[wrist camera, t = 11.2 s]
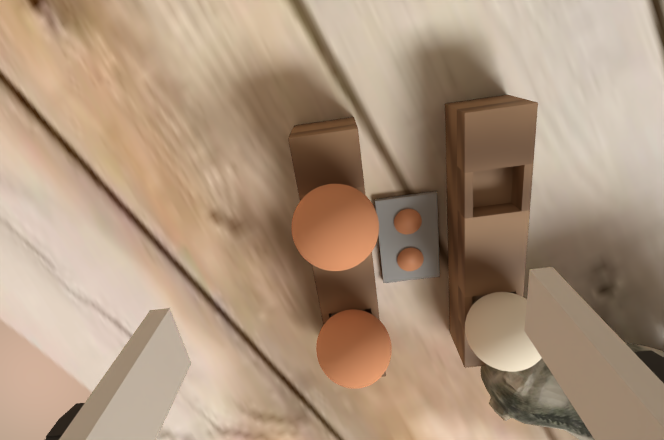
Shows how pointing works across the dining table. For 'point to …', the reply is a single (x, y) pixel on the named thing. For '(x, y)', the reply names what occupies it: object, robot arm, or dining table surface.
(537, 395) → the figurine
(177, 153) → the dining table surface
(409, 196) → the card
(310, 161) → the rack
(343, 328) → the rust ball
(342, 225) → the rust ball
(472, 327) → the cream ball
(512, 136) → the rack
